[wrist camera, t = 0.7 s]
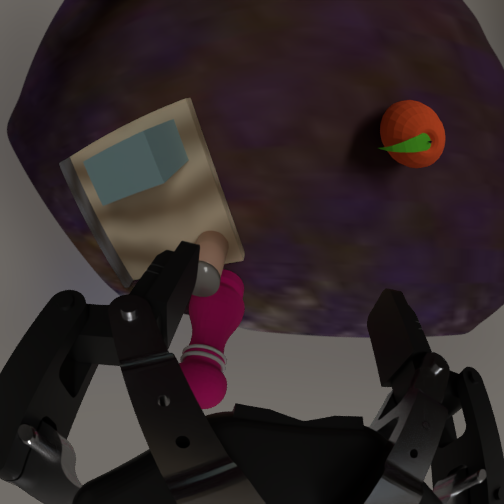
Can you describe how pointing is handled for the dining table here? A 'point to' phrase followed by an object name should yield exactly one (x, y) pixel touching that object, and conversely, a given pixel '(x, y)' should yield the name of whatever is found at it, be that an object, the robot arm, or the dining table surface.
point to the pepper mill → (212, 339)
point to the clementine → (412, 134)
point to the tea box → (137, 163)
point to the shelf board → (155, 200)
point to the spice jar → (210, 262)
